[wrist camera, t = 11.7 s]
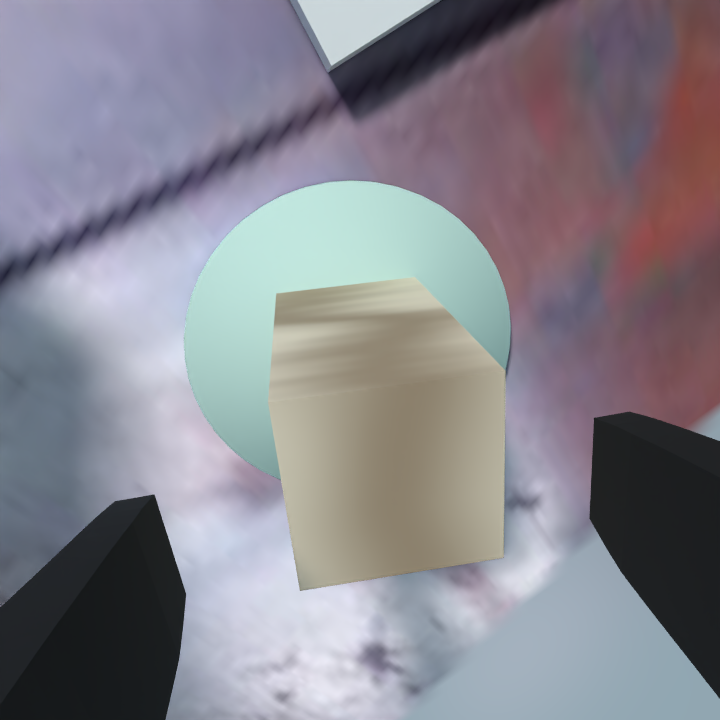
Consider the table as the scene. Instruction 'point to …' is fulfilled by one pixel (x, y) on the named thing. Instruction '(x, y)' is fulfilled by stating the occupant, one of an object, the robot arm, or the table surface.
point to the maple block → (385, 433)
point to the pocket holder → (353, 24)
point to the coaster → (321, 270)
